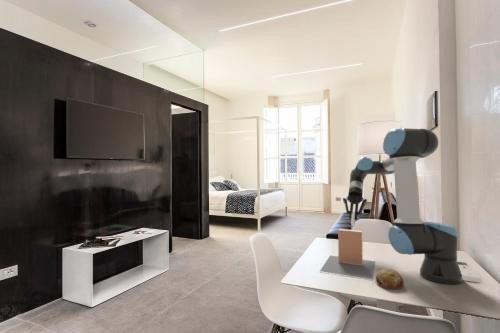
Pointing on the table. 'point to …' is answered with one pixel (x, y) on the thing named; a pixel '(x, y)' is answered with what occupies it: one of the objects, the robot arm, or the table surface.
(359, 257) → the tile
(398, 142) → the robot arm
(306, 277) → the table surface
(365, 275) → the mat
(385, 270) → the bread roll
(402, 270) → the table surface
